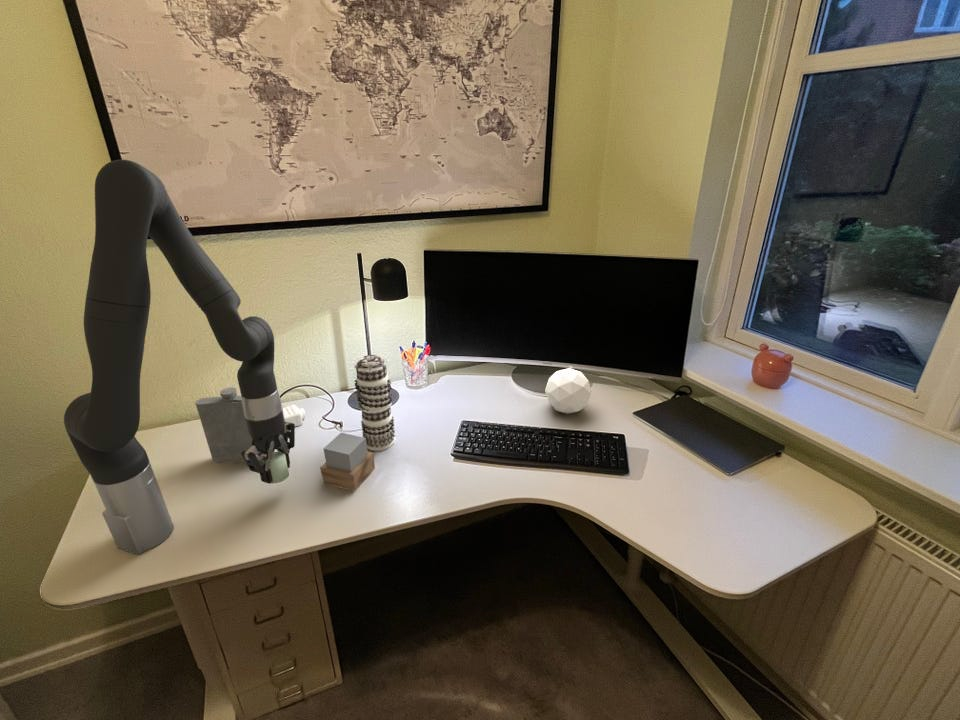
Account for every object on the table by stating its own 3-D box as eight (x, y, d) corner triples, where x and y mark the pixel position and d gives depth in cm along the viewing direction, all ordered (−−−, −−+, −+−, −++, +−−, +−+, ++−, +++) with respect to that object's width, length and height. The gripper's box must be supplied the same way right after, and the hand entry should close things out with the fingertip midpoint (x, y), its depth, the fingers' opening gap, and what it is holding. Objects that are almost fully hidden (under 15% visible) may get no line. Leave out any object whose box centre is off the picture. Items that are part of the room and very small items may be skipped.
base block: (355, 492, 114) (353, 475, 112) (323, 483, 116) (320, 467, 114) (375, 469, 122) (373, 452, 119) (344, 461, 124) (341, 445, 122)
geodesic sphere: (542, 376, 153) (546, 356, 141) (585, 377, 153) (593, 357, 140) (543, 419, 147) (547, 402, 134) (589, 420, 146) (597, 403, 134)
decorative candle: (355, 448, 129) (343, 364, 118) (373, 429, 137) (363, 349, 126) (386, 454, 126) (376, 369, 116) (402, 435, 134) (395, 354, 123)
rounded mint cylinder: (278, 485, 107) (274, 467, 105) (260, 480, 109) (256, 462, 107) (293, 472, 111) (290, 454, 109) (275, 467, 113) (272, 449, 111)
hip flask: (210, 463, 124) (189, 395, 115) (218, 453, 127) (198, 387, 119) (273, 462, 124) (257, 394, 115) (278, 452, 128) (263, 386, 119)
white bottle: (309, 424, 140) (306, 411, 138) (260, 439, 133) (257, 426, 132) (302, 414, 145) (299, 401, 143) (255, 428, 138) (251, 415, 137)
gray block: (351, 472, 113) (348, 454, 110) (326, 465, 115) (323, 448, 113) (367, 454, 119) (365, 438, 116) (343, 449, 121) (341, 432, 119)
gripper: (251, 430, 96) (267, 498, 103) (300, 397, 108) (310, 460, 115) (222, 423, 98) (239, 490, 105) (273, 392, 110) (285, 454, 117)
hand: (276, 474), depth 110 cm, fingers closed on rounded mint cylinder, 5 cm apart
